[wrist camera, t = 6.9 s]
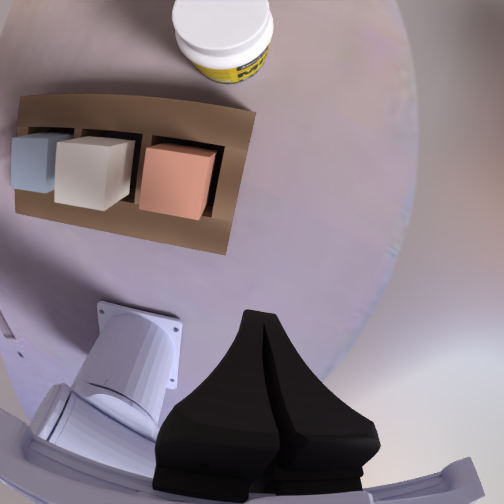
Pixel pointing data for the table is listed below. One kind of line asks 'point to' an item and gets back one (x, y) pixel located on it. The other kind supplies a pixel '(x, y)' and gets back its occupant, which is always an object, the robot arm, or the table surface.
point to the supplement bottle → (224, 36)
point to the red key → (177, 179)
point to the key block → (154, 132)
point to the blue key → (35, 160)
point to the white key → (93, 171)
